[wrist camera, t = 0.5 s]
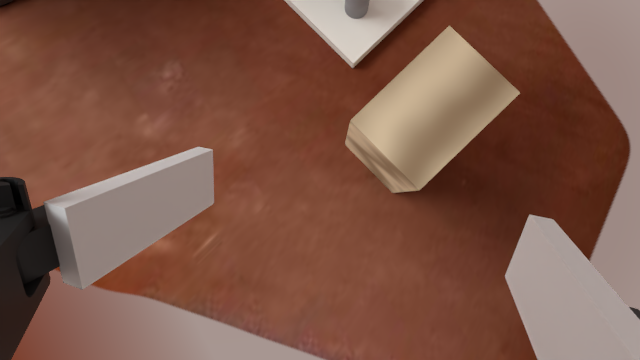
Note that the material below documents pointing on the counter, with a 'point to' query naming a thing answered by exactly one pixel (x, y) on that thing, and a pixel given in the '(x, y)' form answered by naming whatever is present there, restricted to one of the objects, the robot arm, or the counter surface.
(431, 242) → the counter surface
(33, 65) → the counter surface
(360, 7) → the peg stand
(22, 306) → the robot arm
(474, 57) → the beech block
